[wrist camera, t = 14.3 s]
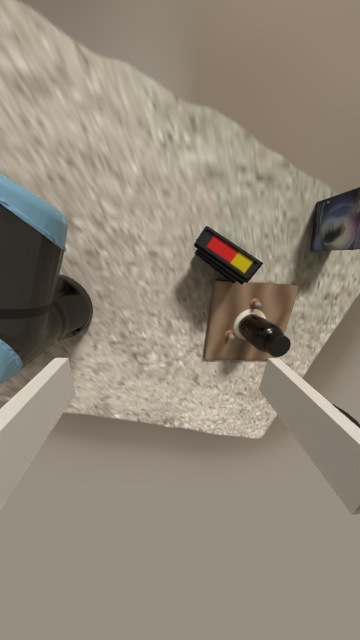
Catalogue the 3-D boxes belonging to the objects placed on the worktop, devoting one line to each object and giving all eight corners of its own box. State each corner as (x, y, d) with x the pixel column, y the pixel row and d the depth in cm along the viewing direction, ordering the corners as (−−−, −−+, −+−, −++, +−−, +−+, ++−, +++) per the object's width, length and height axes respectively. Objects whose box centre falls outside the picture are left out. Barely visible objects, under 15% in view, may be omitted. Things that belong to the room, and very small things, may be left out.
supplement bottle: (252, 340, 46) (281, 366, 35) (232, 330, 45) (256, 355, 34) (267, 319, 45) (302, 339, 33) (247, 308, 43) (277, 326, 32)
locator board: (204, 356, 49) (207, 363, 45) (214, 280, 41) (218, 282, 38) (273, 356, 51) (280, 363, 48) (295, 284, 44) (305, 287, 40)
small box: (314, 201, 37) (368, 182, 28) (341, 197, 38) (405, 176, 28) (308, 252, 41) (354, 250, 31) (333, 247, 41) (386, 244, 32)
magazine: (240, 289, 41) (248, 281, 26) (197, 259, 43) (184, 237, 28) (250, 276, 40) (264, 261, 26) (206, 246, 42) (197, 216, 28)
